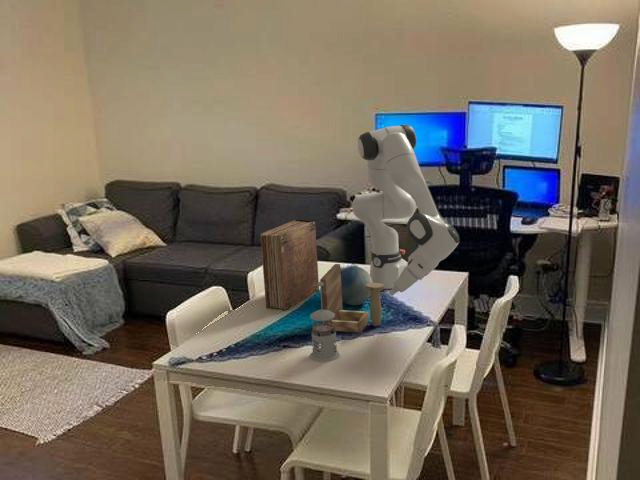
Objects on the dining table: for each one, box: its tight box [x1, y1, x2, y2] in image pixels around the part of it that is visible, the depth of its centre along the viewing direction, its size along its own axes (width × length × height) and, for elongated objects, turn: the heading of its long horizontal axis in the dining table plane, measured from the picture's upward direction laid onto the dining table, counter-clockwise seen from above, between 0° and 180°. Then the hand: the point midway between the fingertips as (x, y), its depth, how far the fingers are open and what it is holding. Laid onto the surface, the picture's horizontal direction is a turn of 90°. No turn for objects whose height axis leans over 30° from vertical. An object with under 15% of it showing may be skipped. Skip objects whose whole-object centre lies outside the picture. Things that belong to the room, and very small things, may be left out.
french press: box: [309, 281, 341, 363], centre depth 210 cm, size 10×12×25 cm
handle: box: [366, 283, 384, 327], centre depth 232 cm, size 5×6×15 cm
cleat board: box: [319, 263, 370, 333], centre depth 232 cm, size 13×18×20 cm
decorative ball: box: [341, 265, 373, 306], centre depth 254 cm, size 15×15×15 cm
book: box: [259, 219, 320, 312], centre depth 261 cm, size 25×9×30 cm, turn 149°
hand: (393, 289), depth 228 cm, fingers open, 8 cm apart
